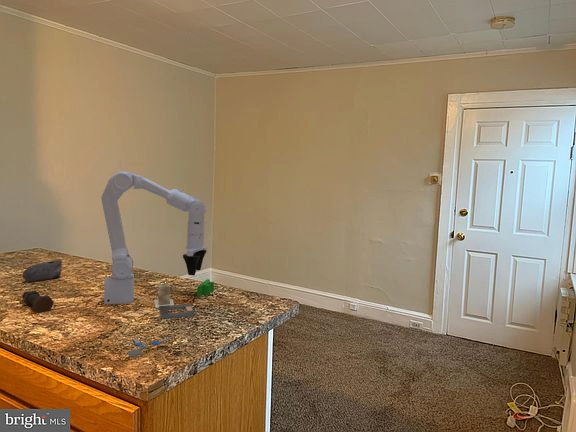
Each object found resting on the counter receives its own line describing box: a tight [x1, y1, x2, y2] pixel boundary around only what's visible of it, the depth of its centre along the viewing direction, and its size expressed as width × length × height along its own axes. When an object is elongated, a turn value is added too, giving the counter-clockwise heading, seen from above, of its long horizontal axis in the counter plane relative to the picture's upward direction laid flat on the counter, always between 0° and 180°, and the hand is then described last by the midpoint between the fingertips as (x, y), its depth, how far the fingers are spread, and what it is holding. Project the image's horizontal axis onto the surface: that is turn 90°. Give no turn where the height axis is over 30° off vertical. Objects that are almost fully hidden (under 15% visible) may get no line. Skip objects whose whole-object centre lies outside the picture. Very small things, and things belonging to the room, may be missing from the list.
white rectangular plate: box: [153, 298, 175, 309], centre depth 141 cm, size 6×8×1 cm
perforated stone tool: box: [22, 259, 63, 282], centre depth 165 cm, size 15×5×7 cm, turn 142°
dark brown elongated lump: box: [21, 290, 55, 314], centre depth 135 cm, size 6×5×15 cm
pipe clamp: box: [196, 278, 215, 298], centre depth 155 cm, size 11×4×5 cm, turn 173°
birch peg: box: [157, 283, 171, 305], centre depth 141 cm, size 4×4×6 cm
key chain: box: [127, 336, 172, 357], centre depth 109 cm, size 14×8×1 cm, turn 158°
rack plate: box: [158, 303, 196, 320], centre depth 133 cm, size 10×10×2 cm
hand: (194, 272), depth 148 cm, fingers open, 7 cm apart
